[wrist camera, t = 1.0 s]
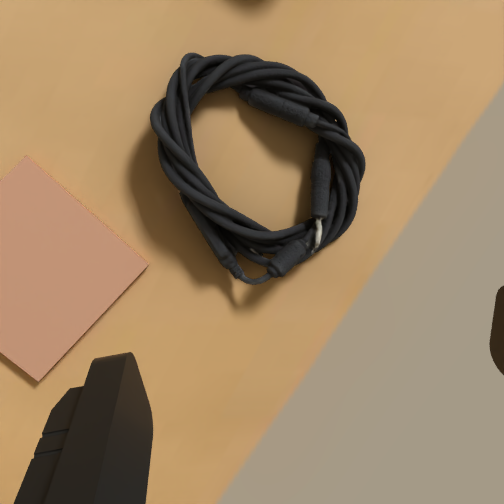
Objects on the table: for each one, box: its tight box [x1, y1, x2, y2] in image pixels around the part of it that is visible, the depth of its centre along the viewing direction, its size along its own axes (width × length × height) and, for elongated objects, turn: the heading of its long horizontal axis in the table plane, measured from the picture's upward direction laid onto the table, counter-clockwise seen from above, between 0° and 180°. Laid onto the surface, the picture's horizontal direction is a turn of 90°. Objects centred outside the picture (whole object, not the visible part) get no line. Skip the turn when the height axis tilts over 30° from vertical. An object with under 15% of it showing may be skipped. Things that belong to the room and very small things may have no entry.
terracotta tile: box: [0, 156, 149, 382], centre depth 29 cm, size 11×11×1 cm
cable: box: [150, 53, 365, 285], centre depth 31 cm, size 17×14×4 cm
